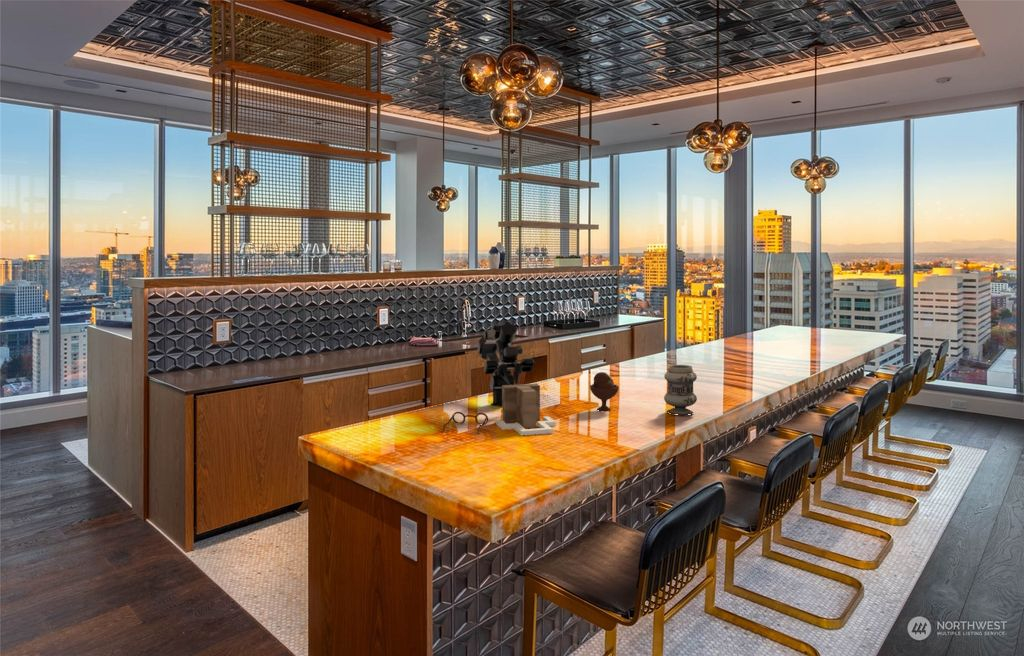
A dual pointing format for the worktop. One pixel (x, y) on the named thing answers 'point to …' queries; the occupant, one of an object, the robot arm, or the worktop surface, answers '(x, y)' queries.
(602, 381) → the ice cream bowl
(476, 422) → the glasses
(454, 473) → the worktop surface
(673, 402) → the apothecary jar
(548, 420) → the t outline
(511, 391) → the t block
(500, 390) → the robot arm
